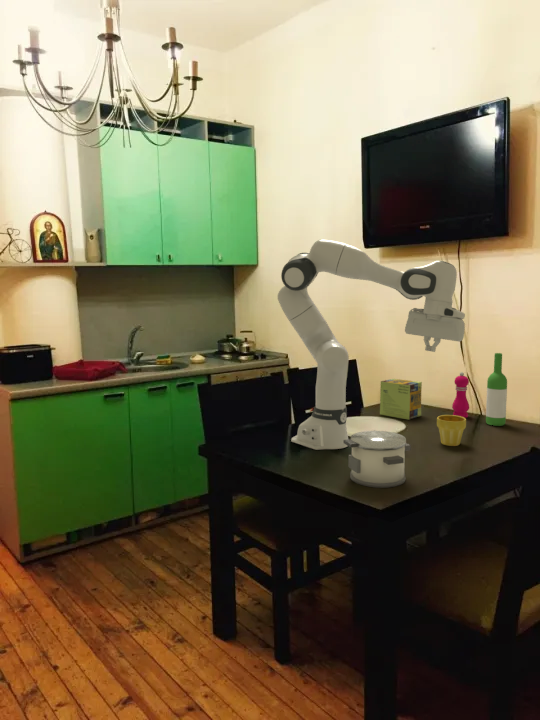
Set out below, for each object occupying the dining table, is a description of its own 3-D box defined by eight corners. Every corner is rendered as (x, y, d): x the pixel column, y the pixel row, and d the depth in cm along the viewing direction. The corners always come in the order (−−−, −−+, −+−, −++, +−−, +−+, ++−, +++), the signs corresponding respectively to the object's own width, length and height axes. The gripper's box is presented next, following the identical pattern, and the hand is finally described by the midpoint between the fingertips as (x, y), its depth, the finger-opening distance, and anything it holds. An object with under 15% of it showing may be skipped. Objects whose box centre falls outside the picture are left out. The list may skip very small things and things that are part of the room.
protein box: (409, 420, 252) (410, 385, 249) (379, 414, 262) (379, 381, 260) (421, 415, 259) (422, 381, 257) (391, 410, 270) (392, 378, 267)
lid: (388, 433, 187) (388, 428, 187) (416, 446, 172) (416, 442, 171) (335, 439, 181) (335, 434, 181) (359, 453, 166) (359, 448, 166)
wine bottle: (495, 427, 237) (498, 355, 233) (481, 423, 244) (484, 353, 240) (509, 425, 240) (512, 353, 236) (495, 421, 247) (498, 351, 243)
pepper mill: (470, 415, 257) (472, 371, 255) (466, 419, 251) (468, 374, 249) (454, 414, 261) (455, 370, 259) (450, 417, 255) (451, 372, 253)
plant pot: (467, 448, 209) (468, 421, 207) (437, 446, 211) (438, 420, 209) (463, 440, 219) (464, 415, 217) (435, 439, 221) (435, 414, 219)
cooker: (387, 464, 191) (388, 432, 190) (424, 485, 171) (424, 449, 170) (337, 470, 186) (337, 437, 184) (369, 493, 166) (369, 456, 164)
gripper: (405, 306, 198) (398, 346, 198) (461, 312, 184) (453, 355, 184) (414, 308, 202) (407, 347, 203) (469, 314, 188) (462, 356, 189)
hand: (430, 351), depth 194 cm, fingers closed
